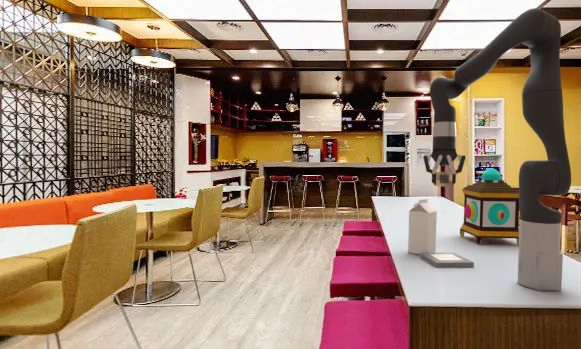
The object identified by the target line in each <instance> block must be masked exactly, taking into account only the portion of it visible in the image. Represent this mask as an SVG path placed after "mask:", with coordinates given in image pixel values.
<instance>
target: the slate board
mask: <svg viewBox="0 0 581 349" xmlns="http://www.w3.org/2000/svg"><path fill="white" fill-rule="evenodd" d="M419 256H420V258H421V259H422V260H424V261H426V262H427V263H428V264H430V265H432V266H433V267H434V268H475V262H473V261H472V260H470V259H468V258H466V257H464V256H462V255H460V254H458V253H456V252H435V253H421V255H419Z"/></svg>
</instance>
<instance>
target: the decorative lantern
mask: <svg viewBox="0 0 581 349" xmlns="http://www.w3.org/2000/svg"><path fill="white" fill-rule="evenodd" d="M461 191H462V193H463V196H464V198H463V199H464V203H463V206H464V207H463V208H464V209H463V223H462V224H461V227H460V229H459V235H460V237H464V235H465V233H466V234H468V235H471V236H473V237H475V239H476V244H477V245H479V246H480V245H481V243H482V240H483V239H516V244H517V246H519V226H520V210H519V188H517V187H514V186H513V187H512V186H511V185H509V184H508V183H507V182H505V180H504V179H503V180H502V176H501V173H500V172H499V171H498V170H497V169H495V168H493V167H492V168H487V169H486V170H485V171H484V172H483V173H482V176H481V179H479V180H478V181H475V182H474V183H472V184H467V186H465V187H463V188H462V189H461Z"/></svg>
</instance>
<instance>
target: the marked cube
mask: <svg viewBox="0 0 581 349" xmlns="http://www.w3.org/2000/svg"><path fill="white" fill-rule="evenodd" d="M434 186H435V187H447V188H449V187H450V188H451V187H453V185H452V172H451V171H436V185H434Z"/></svg>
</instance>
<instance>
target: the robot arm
mask: <svg viewBox="0 0 581 349" xmlns="http://www.w3.org/2000/svg"><path fill="white" fill-rule="evenodd" d="M561 33H562V26H561V23H560V20H559V19H558V18H557V16H555V15H552V14H551V13H549V12H547V11H546V10H543V9H541V8H536V7H535V8H530V9H528V10H525V11H524V12H522V13H520V15H518V16H517V17H516V18H515V19H513V21H511V22H510V24H508V25H507V26H506V27H505V28H504V29H503V30H502V31H501V32H500V33H498V35H497V36H495V37H494V38H493V39H492V40H491V41H490V42H489V43H488V44H487V45H486V46H485V47H483V48H482V49H481V50H480V51H479V52H478V53H476V54H475V55H473V56H472V57H471V58H469V59H468V60H466V61H464V63H462V64H461V65H460V66H458V67H457V68H456V69H455V71H454V76H453V77H452V78H448V77H443V76H440V77H439V76H438V77H436V78H435V79H433V81H431V84H430V87H429V96H430V100H431V105H432V110H433V112H434V113H433V127H432V151H431V153H430V154H428V155H426V154H425V155H424V156H422V159H423V161H424V163H423V164H424V167H425V170H426V172H427V173H429V174H431V183H432V184H433V185H434V186H435V185H436V172H438V169H439V166H448V167H449V170H450V171H449V172H452V186H454V185H455V184H456V180H457V179H456V178H457V177H456V176H457V175H458V174H460V173H462V171H463V168H464V164H465V162H466V155H461V154H458V153H457V125H456V124H457V123H456V122H457V118H456V115H457V114H456V113H457V111H456V107H455V106H453V104H451V103H450V101H449V100H454V99H456V98H458V97H460V96H461V95H462V94H463V93H464V92H465V91H466V90H467V89H468V87H470V85H472V84H473V83H476V82H477V81H478V80H480V79H482V78H483V77H484V76H486V75H487V74H489V72H490V71H491V72H492V70H493V68H495V66H496V65H497V63H498V61H499V60H500V59H501V58H502V56H503V55H505V54H506V53H507V52H508V51H510V50H511V49H513V48H515V47H517V46H519V45H521V44H522V45H524V46H527V47H528V49H529V55H530V71H529V74H528V75H527V77H526V80H525V83H523V84H524V85H523V87H522V92H521V104H522V105H521V108H522V116H523V119H524V121H526V122H527V124H528V126H529V127H530V128H531V130H532V131H533V132H534V133H535V134H536V135H537V137H538V138H539V139H540V141H541V143H542V144H543V147H544V149H545V153H546V156H547V159H546V160H535V159H534V160H530V159H529V160H525V161H524V162H522V164H521V166H520V168H519V171H518V190H519V225H518V229H519V245H518V256H517V258H518V259H517V283H518V284H520V285H521V286H524V287H525V288H529V289H533V290H534V289H535V290H536V291H539V292H540V291H542V292H543V291H562V287H563V286H562V282H563V281H562V280H563V259H564V256H563V253H561V240H562V239H561V237H562V235H561V234H562V218H563V217H562V213H561V211H559V210H557V209H554V208H551V207H549V206H546V205H545V204H543V203H542V202H541V200H540V196H559V197H560V196H565V195H567V193H569V191H570V189H571V186H572V170H571V163H570V157H569V153H568V148H567V147H568V146H567V140H566V133H565V121H564V99H563V98H564V97H563V96H564V95H563V88H562V86H563V85H562V74H561V73H562V72H561V64H560V63H561V62H560V60H561V59H560V56H561V54H560V53H561V52H560V51H561V40H562V39H561V37H562V36H561V35H562V34H561ZM431 158H432V160H433V161H434V165H433V168H432V169H431V168H430V163H429V162H430V160H431ZM456 159H457V161H458V166H457V169H455V165H454V161H455V160H456Z"/></svg>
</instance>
